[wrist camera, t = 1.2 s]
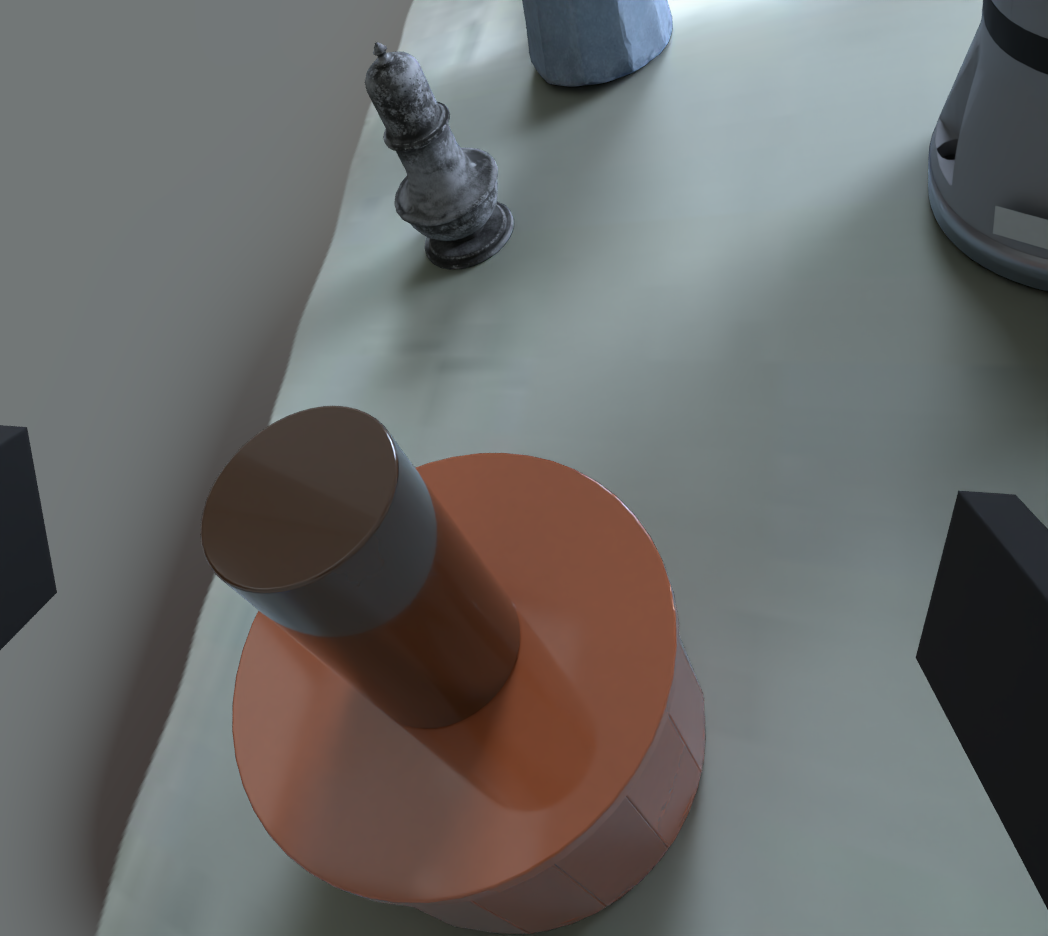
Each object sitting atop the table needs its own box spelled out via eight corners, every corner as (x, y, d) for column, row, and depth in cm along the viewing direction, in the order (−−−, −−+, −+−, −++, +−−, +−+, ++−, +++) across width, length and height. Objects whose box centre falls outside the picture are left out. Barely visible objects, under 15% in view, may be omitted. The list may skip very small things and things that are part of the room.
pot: (552, 514, 41) (493, 410, 35) (788, 741, 33) (762, 653, 27) (301, 729, 39) (194, 656, 33) (484, 1030, 30) (385, 1002, 25)
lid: (501, 404, 36) (386, 196, 28) (790, 661, 27) (741, 460, 19) (188, 663, 34) (-32, 515, 26) (389, 1036, 25) (146, 985, 17)
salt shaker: (403, 269, 53) (297, 85, 44) (447, 196, 56) (355, 7, 47) (493, 276, 51) (399, 82, 41) (535, 199, 53) (455, -1, 44)
